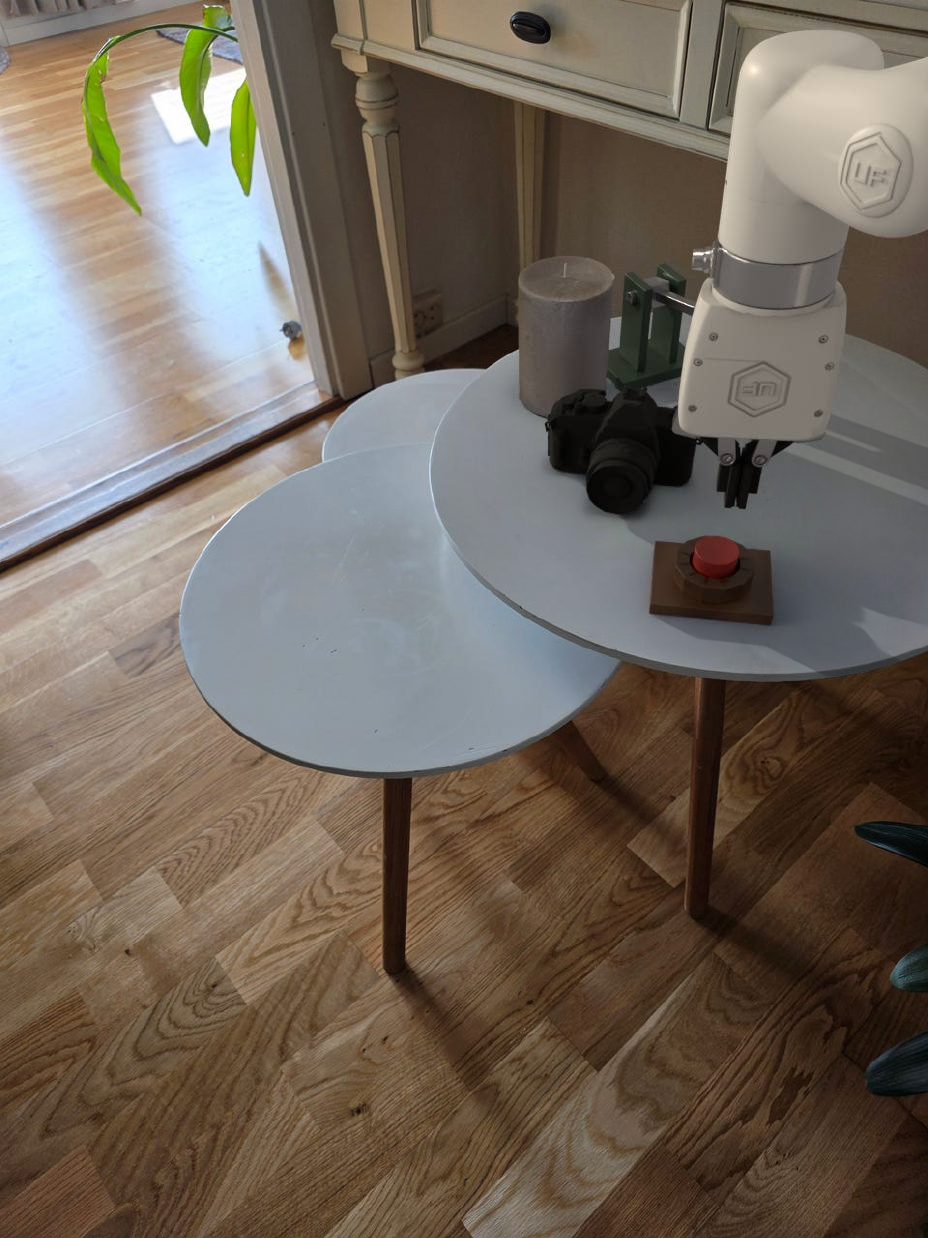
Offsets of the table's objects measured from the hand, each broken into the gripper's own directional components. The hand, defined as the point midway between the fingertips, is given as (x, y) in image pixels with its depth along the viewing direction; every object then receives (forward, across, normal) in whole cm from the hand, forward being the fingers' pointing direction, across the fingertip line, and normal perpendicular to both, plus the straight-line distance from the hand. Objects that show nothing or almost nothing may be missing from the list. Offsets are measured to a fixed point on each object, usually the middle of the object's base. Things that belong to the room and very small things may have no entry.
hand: (734, 497), depth 68 cm
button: (+8, -1, 0) cm, 8 cm away
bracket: (+10, -8, +36) cm, 38 cm away
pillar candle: (+10, -17, +29) cm, 35 cm away
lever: (0, -4, +29) cm, 30 cm away
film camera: (+10, -10, +14) cm, 20 cm away
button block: (+10, -1, 0) cm, 10 cm away
